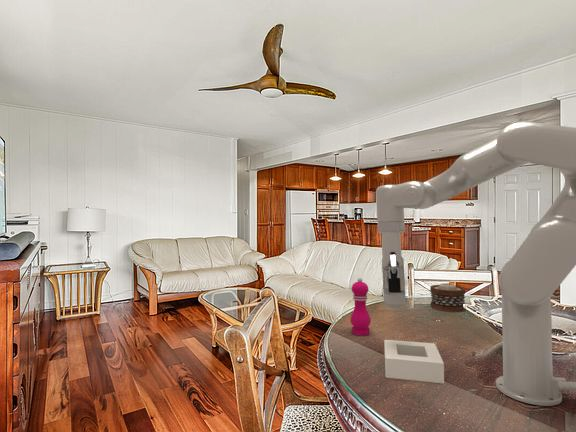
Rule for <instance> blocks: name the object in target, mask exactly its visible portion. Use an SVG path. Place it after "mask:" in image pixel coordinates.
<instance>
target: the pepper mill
mask: <svg viewBox="0 0 576 432" xmlns="http://www.w3.org/2000/svg"><path fill="white" fill-rule="evenodd" d="M356 279H357V281H356V282H354V283H352V285H351V291H352V294H353V295H352V297H353V300H354V308H353V311H352V313H351V315H350V323H351V325H352V327H351V333H352V334H353V335H356V336H369V334H370V330H371V329H370V327H369V326H370V325H371V323H372V321H371V316H370V314H369V312H368V310H367V309H368V308H367V300H368V295H367V294H368V293H369V285H368V284H367V283H366V282H364V281H363V278H362V277H358V278H356Z"/></svg>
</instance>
